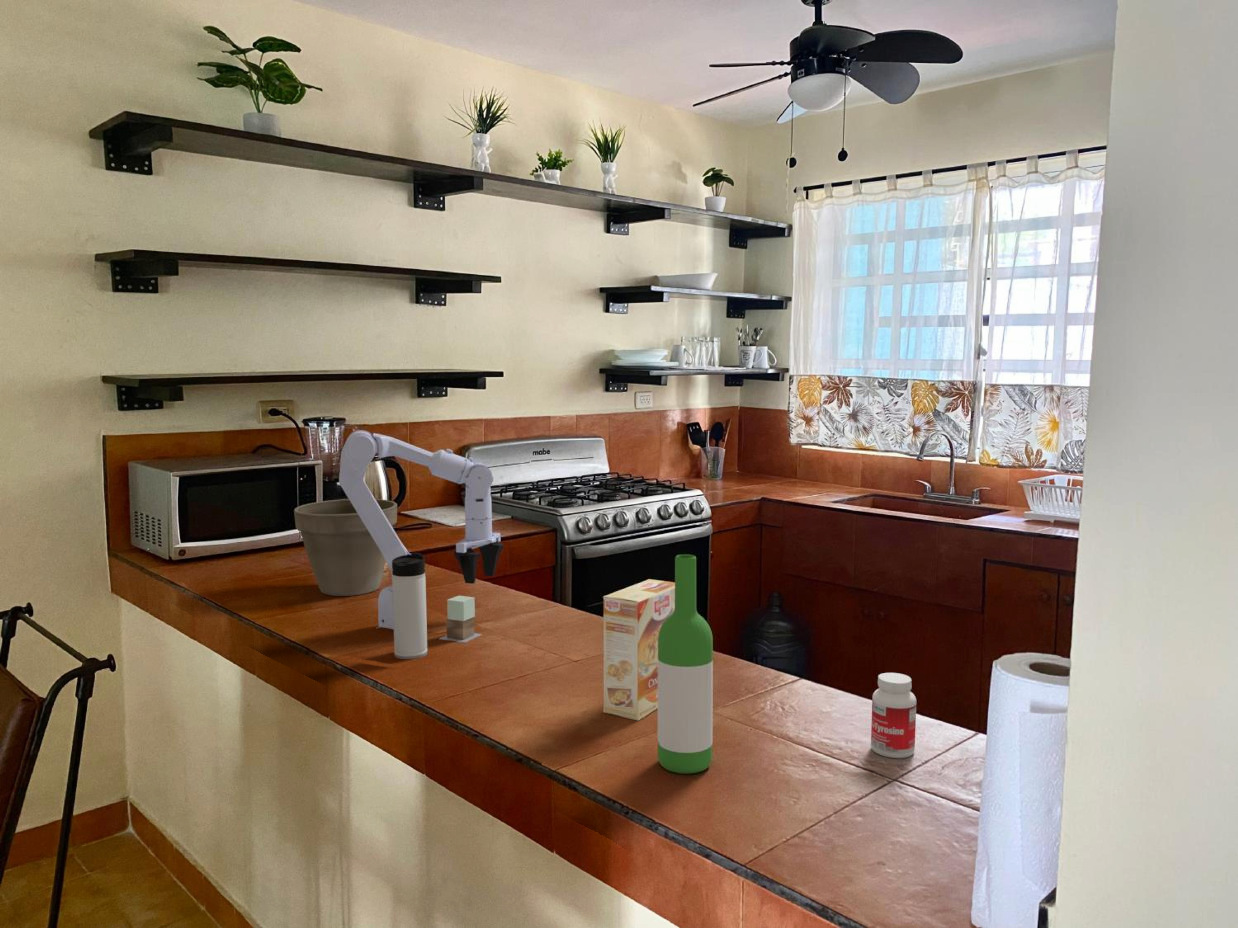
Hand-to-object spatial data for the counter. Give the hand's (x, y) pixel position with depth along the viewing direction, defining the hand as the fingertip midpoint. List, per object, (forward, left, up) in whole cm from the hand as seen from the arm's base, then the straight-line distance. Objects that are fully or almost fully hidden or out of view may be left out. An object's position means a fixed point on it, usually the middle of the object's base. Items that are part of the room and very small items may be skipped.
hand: (479, 579), depth 205 cm
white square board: (+3, -12, -10) cm, 16 cm away
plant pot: (-48, +13, -10) cm, 51 cm away
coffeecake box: (+52, -30, -10) cm, 61 cm away
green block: (+3, -12, -5) cm, 13 cm away
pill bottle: (+93, -33, -10) cm, 99 cm away
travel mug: (+1, -26, -10) cm, 28 cm away
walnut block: (+3, -12, -9) cm, 15 cm away
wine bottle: (+67, -50, -10) cm, 84 cm away
